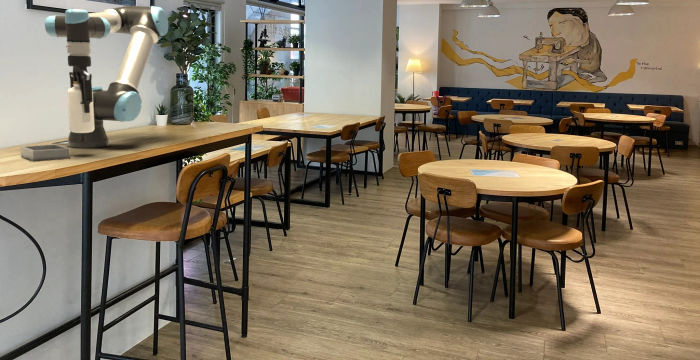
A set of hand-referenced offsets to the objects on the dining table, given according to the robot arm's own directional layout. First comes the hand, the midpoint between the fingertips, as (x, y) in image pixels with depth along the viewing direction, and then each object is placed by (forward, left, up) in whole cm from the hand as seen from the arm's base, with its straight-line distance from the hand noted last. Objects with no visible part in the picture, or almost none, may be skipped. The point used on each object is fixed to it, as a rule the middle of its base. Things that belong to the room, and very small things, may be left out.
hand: (82, 121), depth 227 cm
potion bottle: (0, -1, -4) cm, 4 cm away
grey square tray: (+12, -3, -12) cm, 18 cm away
